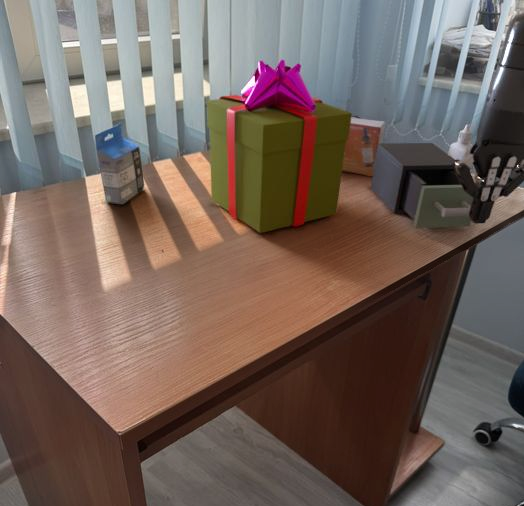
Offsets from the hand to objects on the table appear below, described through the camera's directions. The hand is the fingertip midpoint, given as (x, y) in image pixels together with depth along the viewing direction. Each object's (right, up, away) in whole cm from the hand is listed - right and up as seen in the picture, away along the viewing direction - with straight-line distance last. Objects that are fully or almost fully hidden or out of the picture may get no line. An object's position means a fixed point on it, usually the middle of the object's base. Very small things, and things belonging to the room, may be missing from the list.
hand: (477, 221), depth 82 cm
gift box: (-32, +6, +16) cm, 37 cm away
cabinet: (-4, +10, +23) cm, 26 cm away
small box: (-12, +21, +36) cm, 44 cm away
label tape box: (-61, +10, +19) cm, 65 cm away
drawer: (-2, +4, +14) cm, 15 cm away
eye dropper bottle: (+8, +16, +32) cm, 37 cm away
